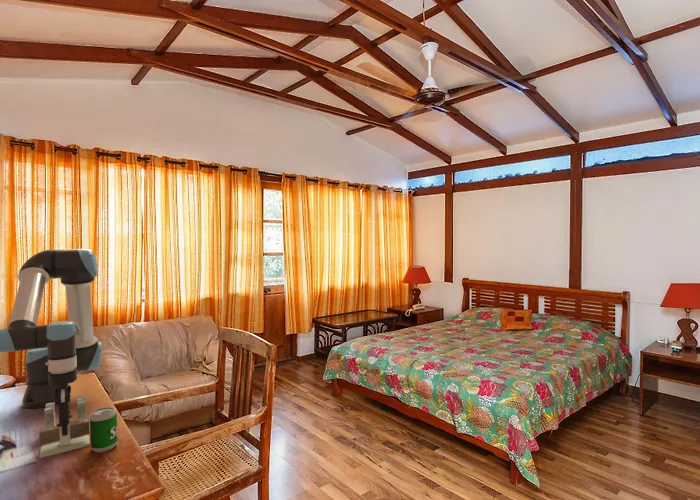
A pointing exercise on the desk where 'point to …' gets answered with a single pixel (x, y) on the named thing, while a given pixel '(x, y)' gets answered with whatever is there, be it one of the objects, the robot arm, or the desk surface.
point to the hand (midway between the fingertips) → (65, 441)
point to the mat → (64, 446)
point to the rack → (51, 412)
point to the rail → (54, 433)
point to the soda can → (103, 429)
